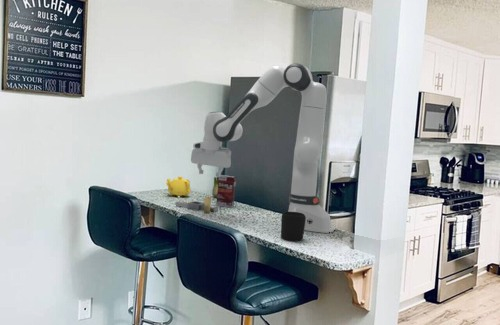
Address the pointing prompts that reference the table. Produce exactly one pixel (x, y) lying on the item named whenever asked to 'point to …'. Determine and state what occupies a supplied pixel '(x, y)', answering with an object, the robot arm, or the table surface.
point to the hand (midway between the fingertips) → (209, 175)
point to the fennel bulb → (215, 187)
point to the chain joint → (195, 206)
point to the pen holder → (292, 226)
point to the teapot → (178, 186)
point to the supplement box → (226, 191)
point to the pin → (207, 204)
